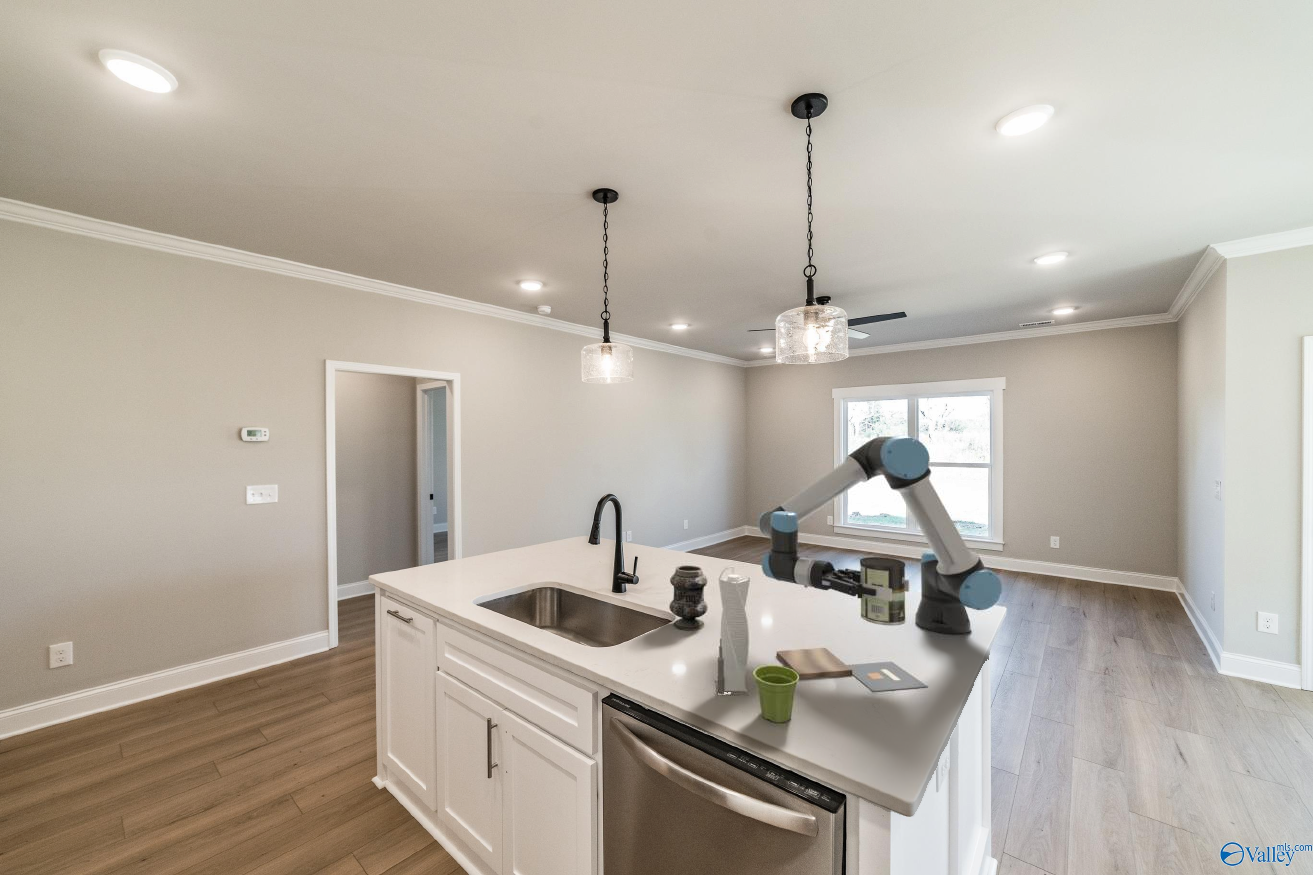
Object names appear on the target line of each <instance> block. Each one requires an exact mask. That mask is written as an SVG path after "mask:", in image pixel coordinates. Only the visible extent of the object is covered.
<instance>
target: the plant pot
mask: <svg viewBox="0 0 1313 875" xmlns="http://www.w3.org/2000/svg"><path fill="white" fill-rule="evenodd" d="M752 674H753V678H754V679H755V683H756V686H757V689H758V690H757V691H758V696H759V703H760V710H761V716H762V717H763V718H764V719H765V720H770V721H771V722H774V723H786V722H788V720H790V719H791V718H792V712H793V706H794V698H795V692H796V688H797V683H798V682H799V680H800V679H799V675H798V674H797V673H796V672H795V671H794V670H792V669H789V668H788V667H787V666H782V665H775V664H773V665H771V664H769V665H761V666H759V667H756V668H755V669H754V670H753V672H752Z"/></svg>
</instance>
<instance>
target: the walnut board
mask: <svg viewBox="0 0 1313 875" xmlns="http://www.w3.org/2000/svg"><path fill="white" fill-rule="evenodd" d="M776 657H778V660H779V659H780V661H781V662H782V663H783V664H784V665H785V667H786V668H789V669H792V670H794V671H795V672H796V673H797V674H798V675H799V680H803V679H816V678H826V677H827V678H828V677H829V678H831V677H840V676H853V675H852V669H851V668H849V667H848V666H847V665H848V664H846V663H844V661H842V660H841V659H840V658H839V657H837V656H836V655H835V654H834V653H832V652H831V651H830V650H829V649H827V648H826V647H819V648H818V647H817V648H803V649H790V650H777V651H776Z"/></svg>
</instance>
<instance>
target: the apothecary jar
mask: <svg viewBox="0 0 1313 875" xmlns="http://www.w3.org/2000/svg"><path fill="white" fill-rule="evenodd" d="M669 582H670V584H671V585H672V586H673V599H672V600H671V602H670V603H669V605H668V606H669V611H670V612H671V613H672V614H673V615H674V616H676V617H679V619H676V620H675V621H673V623H672V626H673V627H674V628H675V627H676V628H675V629H678V630H681V631H698V630H700V629H702V628H704V627H705V622H704V621H703V620H702V619H698V618H700V617H703V616H704V615H705V614H706V613H707V612H708V608H709V606H708V603H707V602H706V601H705V597H704V596H705V595H704V594H705V593H704V592H705V590H704V589H705V587H706V586H707V584H708V578H707V576H706V575H705V574H704V571H703V568H702V567H700V566H697V565H692V564H691V565H688V564H683V565H678V566H676V567H675V571H674V573H673V574H672V575H671V576H670V578H669Z"/></svg>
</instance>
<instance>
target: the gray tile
mask: <svg viewBox="0 0 1313 875" xmlns="http://www.w3.org/2000/svg"><path fill="white" fill-rule="evenodd" d="M846 665H847V666H848V667H849V668H851V669H852V675H851V676H853V677H855V678H856V679H857V680H858V681H859V682H860V683H862V684H863V685H864V686H865V687H866V688H867V689H869V690H870V691H871V692H873V693H876V692H887V691H888V692H889V691H900V690H910V689H921V688H923V689H925V688H928V687H929V686H928V685H927V684H925V683H924V682H922V681H921V680H919V679H918V678H916V677H915V676H913V675H912V674H910V673H909V672H907V670H904V669H903V668H902V667H900V666H899V665H897V664H896V663H895V662H893V661H881V662H869V663H868V662H867V663H855V664H846Z"/></svg>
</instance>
